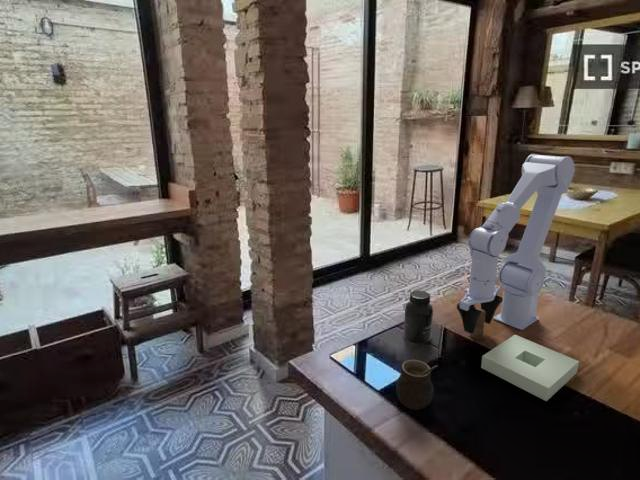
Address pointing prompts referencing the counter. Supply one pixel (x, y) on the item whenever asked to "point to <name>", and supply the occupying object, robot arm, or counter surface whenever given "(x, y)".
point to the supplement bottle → (418, 318)
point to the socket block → (530, 366)
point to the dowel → (479, 326)
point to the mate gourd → (415, 384)
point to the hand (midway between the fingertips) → (477, 326)
